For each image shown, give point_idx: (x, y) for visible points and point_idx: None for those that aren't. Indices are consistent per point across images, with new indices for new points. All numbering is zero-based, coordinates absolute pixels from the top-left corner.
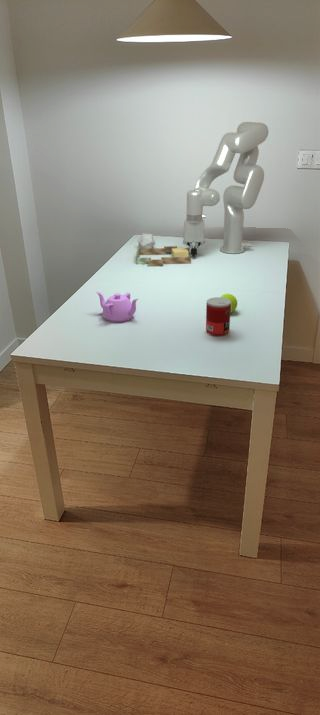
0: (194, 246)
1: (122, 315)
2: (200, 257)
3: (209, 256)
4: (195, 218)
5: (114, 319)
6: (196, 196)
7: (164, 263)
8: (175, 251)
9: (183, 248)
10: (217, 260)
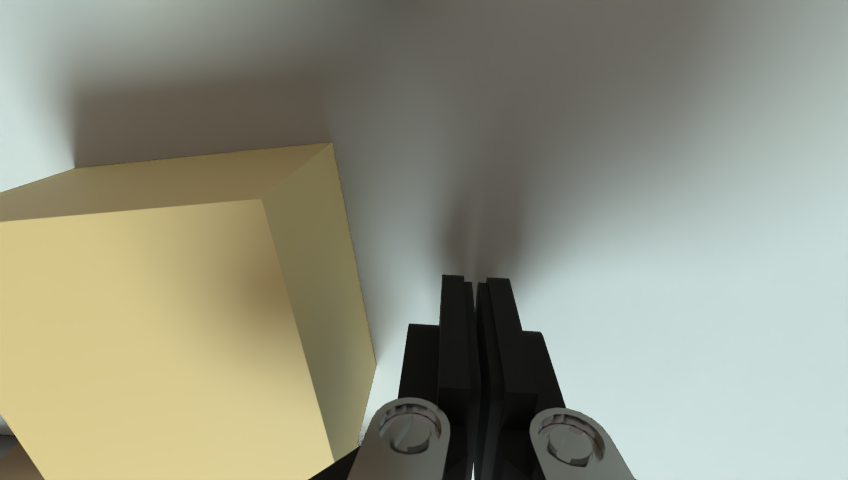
0: (505, 476)
1: None
2: (605, 246)
3: (806, 203)
4: None
5: None
6: None
7: None
8: (64, 450)
9: (202, 260)
10: (826, 422)
